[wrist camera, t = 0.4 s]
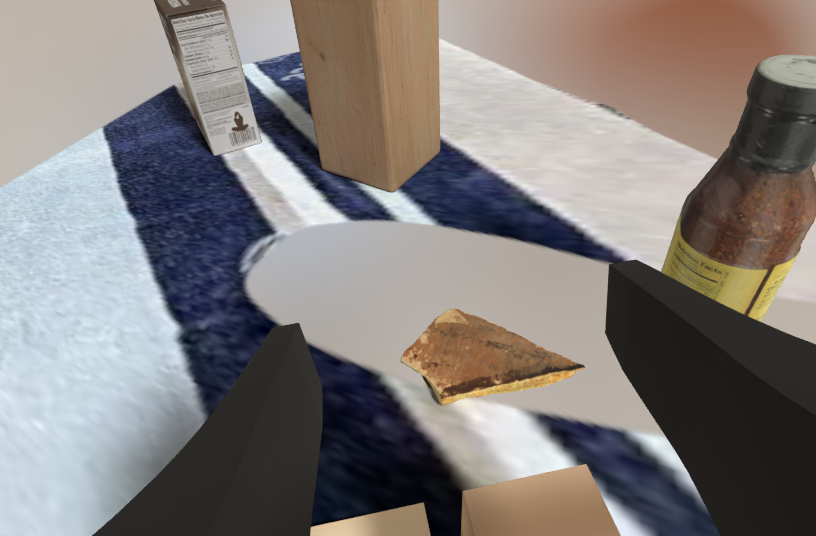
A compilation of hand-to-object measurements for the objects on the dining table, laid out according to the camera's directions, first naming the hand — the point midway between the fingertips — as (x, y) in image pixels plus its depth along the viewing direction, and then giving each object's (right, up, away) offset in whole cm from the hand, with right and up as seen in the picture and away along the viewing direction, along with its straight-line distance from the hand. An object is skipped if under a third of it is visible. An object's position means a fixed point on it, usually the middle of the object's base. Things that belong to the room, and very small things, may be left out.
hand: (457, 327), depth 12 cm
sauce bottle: (+19, -4, +24) cm, 31 cm away
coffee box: (-24, +18, +53) cm, 61 cm away
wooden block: (-4, +13, +46) cm, 49 cm away
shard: (+4, -5, +26) cm, 26 cm away
